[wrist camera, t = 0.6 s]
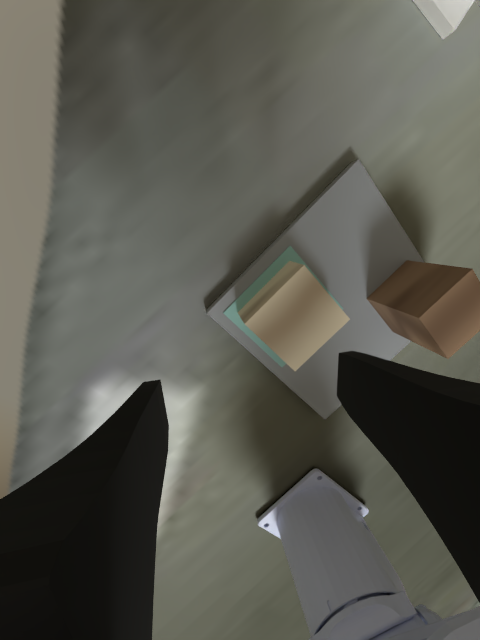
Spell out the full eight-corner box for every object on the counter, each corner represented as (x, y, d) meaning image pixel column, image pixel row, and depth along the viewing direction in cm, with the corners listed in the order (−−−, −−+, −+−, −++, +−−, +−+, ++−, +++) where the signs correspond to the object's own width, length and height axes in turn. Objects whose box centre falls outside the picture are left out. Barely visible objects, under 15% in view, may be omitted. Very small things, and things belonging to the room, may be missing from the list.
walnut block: (430, 296, 22) (497, 314, 17) (392, 331, 22) (448, 358, 17) (406, 260, 20) (472, 268, 16) (366, 298, 21) (418, 317, 16)
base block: (331, 309, 20) (350, 319, 18) (282, 355, 21) (295, 371, 18) (289, 260, 19) (304, 264, 16) (237, 312, 19) (244, 324, 17)
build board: (442, 302, 23) (452, 304, 22) (320, 414, 24) (325, 420, 23) (351, 161, 18) (359, 158, 17) (205, 310, 20) (206, 313, 19)
